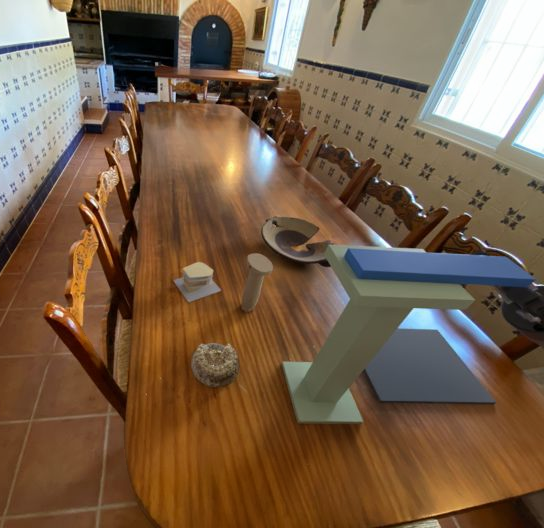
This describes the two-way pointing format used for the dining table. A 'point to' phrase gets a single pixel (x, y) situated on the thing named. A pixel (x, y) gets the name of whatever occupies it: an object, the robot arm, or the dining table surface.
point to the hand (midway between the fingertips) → (499, 274)
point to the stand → (359, 337)
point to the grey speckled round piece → (215, 364)
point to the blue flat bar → (436, 268)
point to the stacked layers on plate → (197, 282)
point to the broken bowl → (294, 240)
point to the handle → (255, 279)
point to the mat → (423, 371)
